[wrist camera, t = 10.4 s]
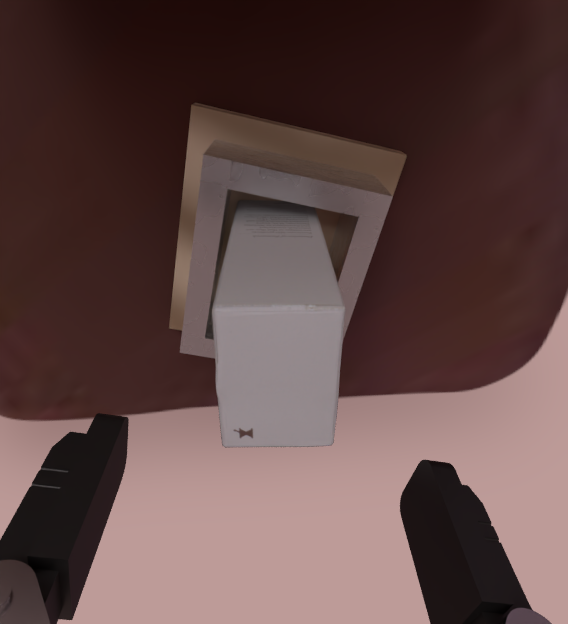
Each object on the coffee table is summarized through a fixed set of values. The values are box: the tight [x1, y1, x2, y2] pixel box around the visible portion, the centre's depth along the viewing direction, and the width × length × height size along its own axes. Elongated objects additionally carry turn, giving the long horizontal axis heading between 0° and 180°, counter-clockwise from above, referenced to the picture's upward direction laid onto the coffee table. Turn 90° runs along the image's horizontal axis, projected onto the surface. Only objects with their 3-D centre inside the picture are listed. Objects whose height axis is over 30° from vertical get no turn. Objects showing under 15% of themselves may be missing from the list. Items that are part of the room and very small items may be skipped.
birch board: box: [169, 103, 407, 330], centre depth 25 cm, size 13×11×1 cm
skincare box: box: [212, 200, 346, 447], centre depth 19 cm, size 6×4×12 cm
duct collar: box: [180, 139, 393, 358], centre depth 23 cm, size 10×8×4 cm
